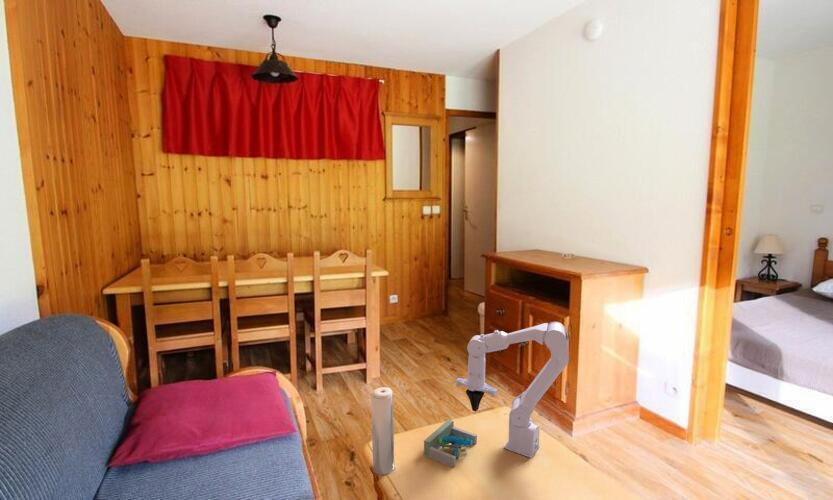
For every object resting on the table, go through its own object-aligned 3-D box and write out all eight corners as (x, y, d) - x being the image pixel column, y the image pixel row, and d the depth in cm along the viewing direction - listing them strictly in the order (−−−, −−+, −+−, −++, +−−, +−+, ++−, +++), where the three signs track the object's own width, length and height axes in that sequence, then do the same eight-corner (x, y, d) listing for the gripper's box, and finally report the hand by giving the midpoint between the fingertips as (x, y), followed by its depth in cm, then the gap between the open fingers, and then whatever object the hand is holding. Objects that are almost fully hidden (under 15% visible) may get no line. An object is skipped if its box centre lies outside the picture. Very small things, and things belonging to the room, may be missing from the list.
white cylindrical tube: (384, 458, 134) (383, 384, 130) (398, 468, 129) (397, 390, 126) (368, 468, 129) (366, 391, 126) (382, 478, 124) (380, 398, 121)
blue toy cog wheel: (475, 442, 139) (468, 434, 132) (474, 462, 136) (467, 454, 128) (443, 441, 143) (434, 432, 135) (441, 460, 139) (433, 452, 132)
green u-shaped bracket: (476, 443, 142) (477, 429, 141) (453, 467, 129) (453, 452, 128) (448, 432, 148) (448, 419, 147) (424, 455, 135) (424, 440, 135)
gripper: (451, 370, 142) (450, 408, 144) (491, 381, 134) (489, 421, 136) (461, 363, 148) (460, 399, 150) (500, 374, 140) (498, 412, 141)
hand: (475, 409), depth 143 cm, fingers closed
